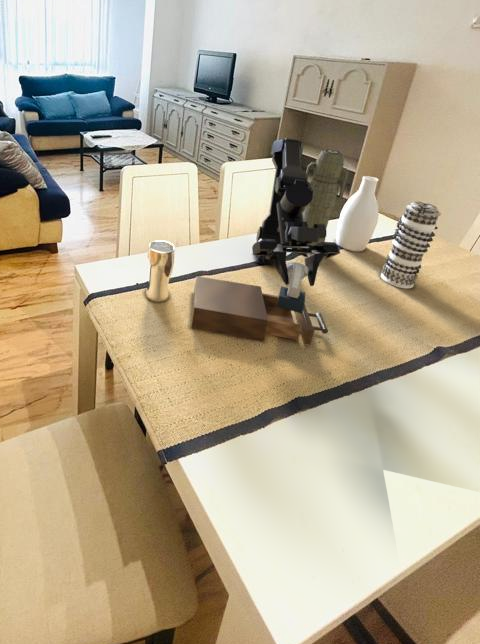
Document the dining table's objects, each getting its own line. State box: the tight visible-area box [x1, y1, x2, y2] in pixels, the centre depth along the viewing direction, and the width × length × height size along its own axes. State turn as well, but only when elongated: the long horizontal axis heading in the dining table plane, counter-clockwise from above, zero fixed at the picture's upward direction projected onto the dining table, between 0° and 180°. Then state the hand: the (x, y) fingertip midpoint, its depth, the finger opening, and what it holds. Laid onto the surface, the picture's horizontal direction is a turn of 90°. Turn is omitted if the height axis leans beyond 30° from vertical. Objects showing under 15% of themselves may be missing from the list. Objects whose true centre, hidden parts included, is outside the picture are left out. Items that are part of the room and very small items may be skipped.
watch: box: [277, 261, 309, 313], centre depth 91 cm, size 6×8×11 cm
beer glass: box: [145, 239, 176, 303], centre depth 102 cm, size 7×7×15 cm
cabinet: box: [191, 275, 268, 342], centre depth 96 cm, size 17×14×6 cm
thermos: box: [301, 148, 350, 256], centre depth 126 cm, size 9×12×35 cm
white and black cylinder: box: [380, 201, 442, 289], centre depth 112 cm, size 9×9×25 cm
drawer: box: [262, 292, 329, 346], centre depth 94 cm, size 20×12×4 cm, turn 78°
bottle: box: [335, 175, 379, 252], centre depth 132 cm, size 11×11×25 cm
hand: (299, 285), depth 89 cm, fingers closed on watch, 5 cm apart
